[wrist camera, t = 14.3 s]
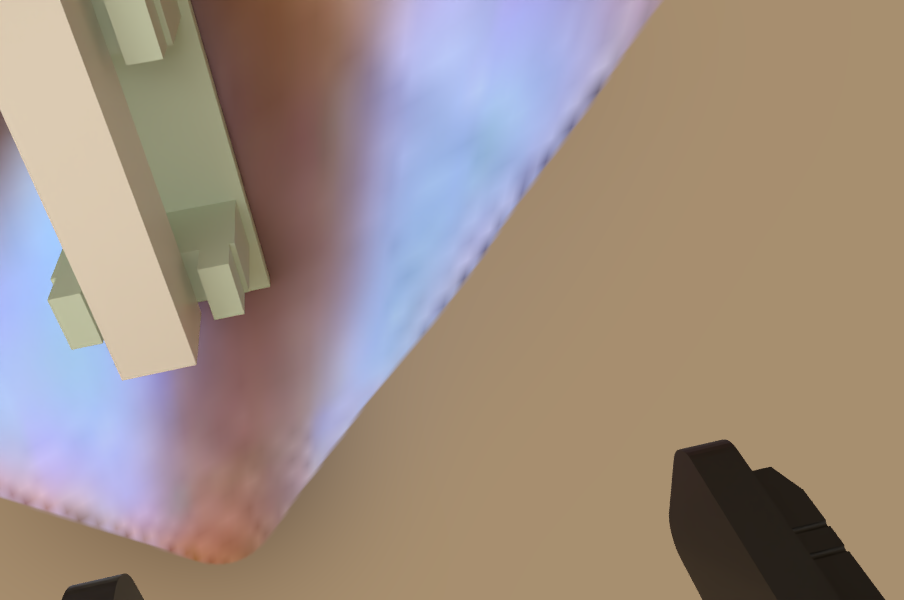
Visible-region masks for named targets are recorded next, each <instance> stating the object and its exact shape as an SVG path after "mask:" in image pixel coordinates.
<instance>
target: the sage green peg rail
mask: <svg viewBox="0 0 904 600" xmlns="http://www.w3.org/2000/svg"><path fill="white" fill-rule="evenodd" d="M91 2H92V5H93V8H94V11H95V14H96V17H97V19H98V22H99V25H100V28H101V31H102V34H103V36H104V39H105V42H106V45H107V48H108V50H109V53H110V56H111V59H112V62H113V65H114V67H115V70H116V73H117V76H118V79H119V82H120V84H121V87H122V90H123V93H124V96H125V99H126V101H127V104H128V107H129V110H130V113H131V116H132V118H133V121H134V124H135V127H136V130H137V133H138V135H139V138H140V141H141V144H142V147H143V150H144V152H145V155H146V158H147V161H148V164H149V167H150V169H151V172H152V175H153V178H154V181H155V184H156V186H157V189H158V192H159V195H160V198H161V201H162V203H163V206H164V209H165V212H166V215H167V218H168V220H169V223H170V226H171V229H172V232H173V235H174V237H175V240H176V243H177V246H178V249H179V252H180V254H181V257H182V260H183V263H184V266H185V269H186V271H187V274H188V277H189V280H190V283H191V285H192V288H193V291H194V294H195V297H196V300H197V302H202V301H207V300H208V303H209V306H210V308H211V311H212V314H213V317H214V320H217V319H222V318H226V317H231V316H236V315H241V314H244V298H245V293H246V292H249V291H252V290H257V289H262V288H267V287H270V277H269V273H268V270H267V266H266V263H265V259H264V256H263V252H262V249H261V245H260V242H259V238H258V235H257V231H256V228H255V224H254V221H253V217H252V214H251V211H250V207H249V204H248V200H247V197H246V193H245V190H244V186H243V183H242V179H241V176H240V172H239V169H238V165H237V162H236V158H235V155H234V151H233V148H232V144H231V141H230V137H229V134H228V130H227V127H226V123H225V120H224V116H223V113H222V109H221V106H220V102H219V99H218V95H217V92H216V88H215V85H214V81H213V78H212V74H211V71H210V67H209V64H208V60H207V57H206V53H205V50H204V46H203V43H202V39H201V36H200V32H199V29H198V25H197V22H196V18H195V15H194V11H193V8H192V4H191V1H190V0H91ZM51 281H52V283H53V287H52V289H51V292H50V295H49V297H48V302H49V304H50V306H51V308H52V311H53V313H54V315H55V317H56V319H57V321H58V323H59V325H60V327H61V329H62V331H63V333H64V335H65V337H66V339H67V341H68V343H69V345H70V347H71V349H72V350H73V349H77V348H82V347H87V346H92V345H97V344H102V343H103V340H104V339H103V337H102V334H101V332H100V330H99V328H98V325H97V323H96V321H95V319H94V317H93V314H92V312H91V310H90V308H89V305H88V303H87V301H86V299H85V297H84V294H83V292H82V290H81V288H80V285H79V283H78V281H77V279H76V277H75V274H74V272H73V270H72V268H71V266H70V263H69V261H68V259H67V257H66V254H65V252H64V250H63V249H62V252H61V254H60V257H59V259H58V262H57V264H56V267H55V269H54V272H53V274H52V277H51Z"/></svg>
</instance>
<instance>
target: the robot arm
mask: <svg viewBox="0 0 904 600" xmlns="http://www.w3.org/2000/svg"><path fill="white" fill-rule="evenodd" d="M669 522H670V529H671V533H672V537H673V540H674V544H675V546H676V549H677V551H678V554H679V556H680V558H681V560H682V562H683V563H684V565H685V567H686V569H687V571H688V573H689V575H690V577H691V579H692V581H693V582H694V584H695V586H696V588H697V590H698V592H699V594H700V596H701V598H702V600H885V599H884V598H883V596H882V595H881V594H880V592H879V591H878V590H877V588H876V587H875V586H874V584H873V583H872V582H871V580H870V579H869V577H868V576H867V575H866V573H865V572H864V571H863V569H862V568H861V567H860V565H859V564H858V563H857V561H856V560H855V559H854V557H853V556H852V555H851V554H850V552H849V551H848V552H847V551H846V550H845V548H844V544H843V543H842V541H841V540H840V539H839V537H838V536H837V534H836V533H835V532H834V531H833V529H832V528H831V526H829V527H828V526H827V524H826V520H825V518H824V517H823V516H822V514H821V513H820V512H819V510H818V509H817V508H816V506H815V505H814V504H813V502H812V501H811V500H810V498H809V497H808V496H807V494H806V493H805V492H804V490H803V489H801V488H800V487H798V486H797V485H796V484H794V483H793V482H791V481H790V480H788V479H787V478H786V477H784V476H783V475H782V474H780V473H779V472H777V471H776V470H774V469H773V468H772V467H768V468H763V469H759V470H755V471H752V470H751V469H750V467H749V466H748V464H747V463H746V462H745V460H744V459H743V457H742V456H741V454H740V453H739V451H738V450H737V449H736V447H735V446H734V445H733V444H732V443H731V442H730V441H728V440H719V441H715V442H710V443H706V444H702V445H697V446H693V447H689V448H684V449H680V450H677V451H676V453H675V456H674V464H673V475H672V486H671V497H670V509H669ZM62 600H144V599H143V597H142V595H141V594H140V592H139V590H138V589H137V586H136V585H135V583H134V581H133V579H132V578H131V577H130V576H129V575H128V574H121V575H116V576H112V577H107V578H103V579H99V580H94V581H90V582H85V583H81V584H77V585H72V586H70V587H69V588H68V589H67V590H66V591H65V593H64V595H63V598H62Z"/></svg>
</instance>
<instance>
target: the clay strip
mask: <svg viewBox="0 0 904 600" xmlns="http://www.w3.org/2000/svg"><path fill="white" fill-rule="evenodd" d="M0 110H1V112H2V115H3V117H4V119H5V121H6V124H7V126H8V128H9V130H10V132H11V135H12V137H13V139H14V141H15V143H16V146H17V148H18V150H19V152H20V155H21V157H22V159H23V161H24V163H25V166H26V168H27V170H28V172H29V175H30V177H31V179H32V181H33V183H34V186H35V188H36V190H37V192H38V195H39V197H40V199H41V201H42V203H43V206H44V208H45V210H46V212H47V214H48V217H49V219H50V221H51V223H52V226H53V228H54V230H55V232H56V234H57V237H58V239H59V241H60V243H61V246H62V248H63V250H64V252H65V254H66V257H67V259H68V261H69V263H70V266H71V268H72V270H73V272H74V274H75V277H76V279H77V281H78V283H79V285H80V288H81V290H82V292H83V294H84V297H85V299H86V301H87V303H88V305H89V308H90V310H91V312H92V314H93V317H94V319H95V321H96V323H97V325H98V328H99V330H100V332H101V334H102V337H103V339H104V341H105V343H106V345H107V348H108V350H109V352H110V354H111V356H112V359H113V361H114V363H115V365H116V368H117V370H118V372H119V374H120V376H121V379H122V380H127V379H132V378H136V377H141V376H146V375H151V374H155V373H160V372H165V371H169V370H174V369H179V368H184V367H188V366H193V365H197V354H198V343H199V332H200V321H201V311H200V308H199V305H198V302H197V300H196V297H195V294H194V291H193V288H192V285H191V283H190V280H189V277H188V274H187V271H186V269H185V266H184V263H183V260H182V257H181V254H180V252H179V249H178V246H177V243H176V240H175V237H174V235H173V232H172V229H171V226H170V223H169V220H168V218H167V215H166V212H165V209H164V206H163V203H162V201H161V198H160V195H159V192H158V189H157V186H156V184H155V181H154V178H153V175H152V172H151V169H150V167H149V164H148V161H147V158H146V155H145V152H144V150H143V147H142V144H141V141H140V138H139V135H138V133H137V130H136V127H135V124H134V121H133V118H132V116H131V113H130V110H129V107H128V104H127V101H126V99H125V96H124V93H123V90H122V87H121V84H120V82H119V79H118V76H117V73H116V70H115V67H114V65H113V62H112V59H111V56H110V53H109V50H108V48H107V45H106V42H105V39H104V36H103V34H102V31H101V28H100V25H99V22H98V19H97V17H96V14H95V11H94V8H93V5H92V2H91V0H0Z"/></svg>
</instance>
